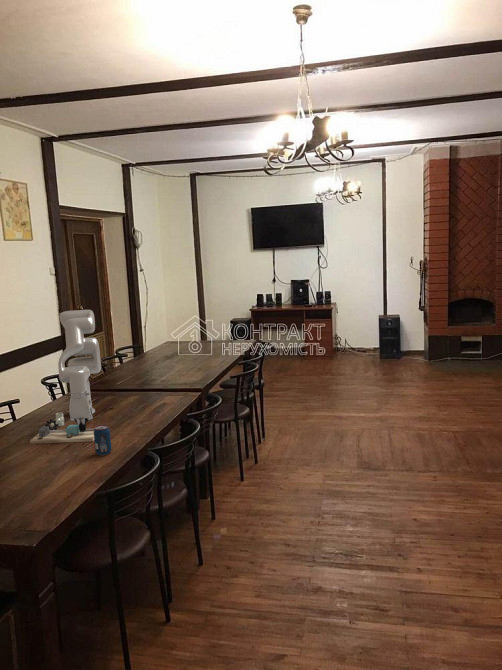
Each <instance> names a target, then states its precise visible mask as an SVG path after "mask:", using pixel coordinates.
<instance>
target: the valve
mask: <svg viewBox="0 0 502 670" xmlns="http://www.w3.org/2000/svg"><path fill="white" fill-rule="evenodd" d="M54 415H55V419H53V418H50V419H49V420H46V421H45V422H46V424H45V425H44V427H47V426H49V430H58V428H57V427H63V426H65V417H64V413H63V412H56V413H55V414H54Z"/></svg>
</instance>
